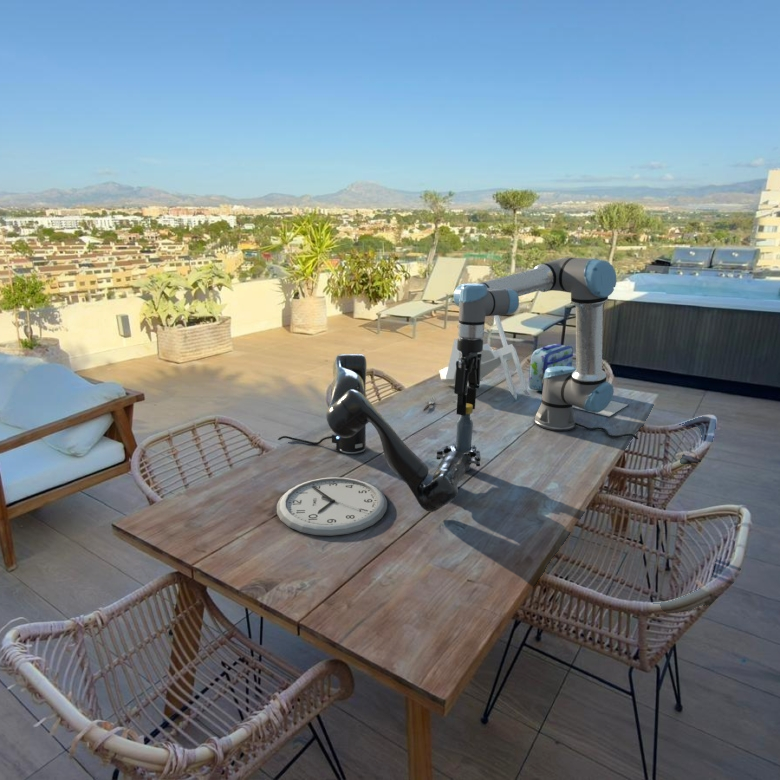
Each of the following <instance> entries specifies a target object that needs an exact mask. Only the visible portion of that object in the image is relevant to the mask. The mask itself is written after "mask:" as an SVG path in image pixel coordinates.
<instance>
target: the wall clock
mask: <svg viewBox="0 0 780 780" xmlns="http://www.w3.org/2000/svg"><path fill="white" fill-rule="evenodd" d="M387 509H388V500H387V498H386V496H385V494H384V493H383V492H382V491H381V490H380V489H379V488H377V487H376V486H374V485H372V484H371V483H369V482H365V481H362V480H359V479H355V478H349V477H338V476H337V477H335V476H333V477H332V476H331V477H322V478H317V479H312V480H307V481H305V482H302V483H299V484H297V485H295V486H293V487H292V488H290V489H288V490H287V491H286V492H285V493H284V494H283V495H281V496H280V498H279V499H278V502H277V503H276V515H277V517H278V518H279V520H280V521H281V522H282V523H283V524H285V525H286V526H287V527H288V528H290V529H293V530H295V531H297V532H299V533H303V534H308V535H312V536H327V537H328V536H329V537H331V536H332V537H333V536H342V535H350V534H352V533H356V532H361V531H363V530H366V529H368V528H369V527H372V526H373V525H375V524H376V523H378V522H379V521H380V520H381V519H382V518H383V517H384V516H385V514H386V512H387Z"/></svg>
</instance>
